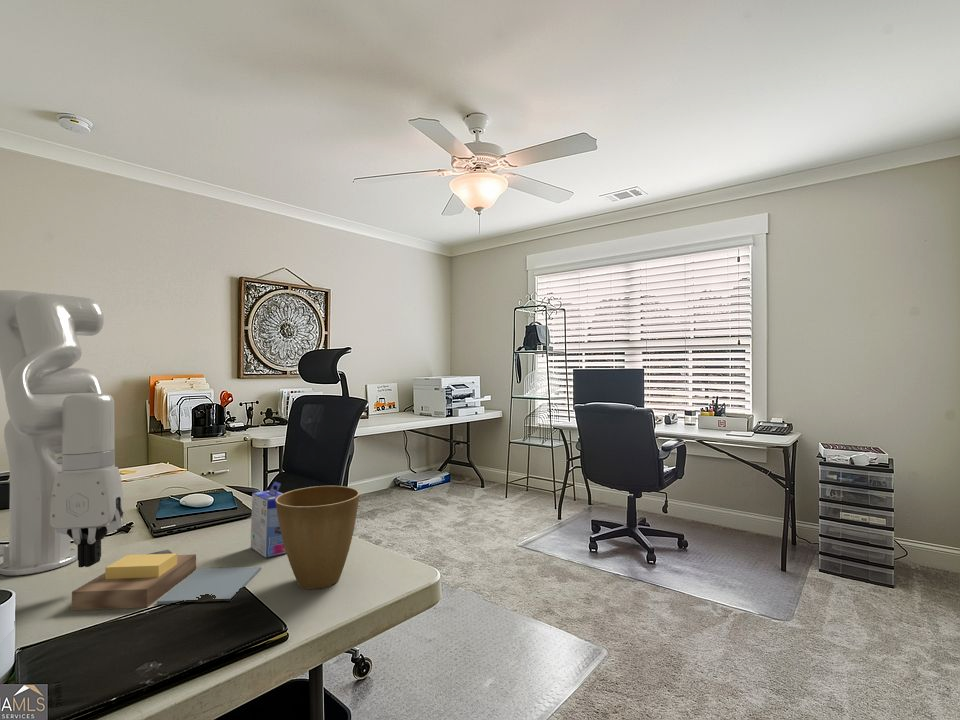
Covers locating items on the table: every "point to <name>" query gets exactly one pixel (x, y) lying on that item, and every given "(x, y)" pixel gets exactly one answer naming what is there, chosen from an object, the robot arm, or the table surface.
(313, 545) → the plant pot
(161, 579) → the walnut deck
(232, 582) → the slate mat
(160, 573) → the ochre block
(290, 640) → the table surface
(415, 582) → the table surface
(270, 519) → the ink cartridge box
